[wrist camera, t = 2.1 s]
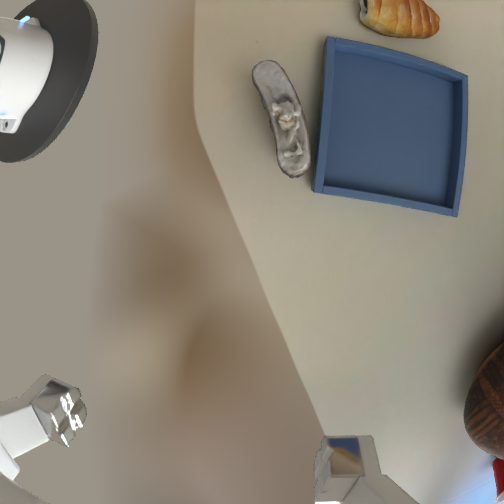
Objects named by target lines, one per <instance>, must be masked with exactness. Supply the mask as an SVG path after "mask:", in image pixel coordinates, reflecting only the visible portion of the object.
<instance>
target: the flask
mask: <svg viewBox="0 0 504 504" xmlns="http://www.w3.org/2000/svg"><path fill="white" fill-rule="evenodd" d="M252 79H253V84H254V86H255V87H256V89H257V90H258V92H259V94H260V97H261V100H262V102H263V104H264V108H265V109H266V110H267V112H268V115H269V119H270V121H269V122H270V125H271V126H270V127H271V128H272V131H273V132H274V136H275V141H276V152H277V161H278V165H279V167H280V169H281V170H282V171H283V173H285V174H286V175H288V176H289V177H290V178H294V177H297V178H298V177H300V176H302V175H303V174H304V173H305V172H307V171H308V169H309V166H310V164H311V153H310V143H309V136H308V128H307V123H306V119H305V116H304V113H303V110H302V107H301V104H300V101H299V98H298V96H297V94H296V92H295V90H294V87H293V85H292V84H291V82H290V80H289V78H288V76H287V75H286V73H285V71H284V69H283V68H282V67H281V66H280V65H279V64H278V63H277V62H275V61H270V60H266V61H261V62H259V63H258V64H257V65H256V66H254V68H253V70H252Z"/></svg>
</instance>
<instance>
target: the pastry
mask: <svg viewBox="0 0 504 504" xmlns="http://www.w3.org/2000/svg"><path fill="white" fill-rule="evenodd" d="M359 2H360V6H361V9H362V10H361V11H360V20H361V21H362V23H363V24H365V25H366V26H367V27H369V28H371V29H372V30H374V31H376V32H377V33H379V34H382V35H386V36H390V37H398V38H429V37H431V36H433V35H435V34H436V33H437V32H438V30H439V22H440V18H439V16H438V15H437V14H436V13H435V12H434V10H433V9H431V8H430V7H429V6H428V5H426V4H425V2H424V1H422V0H359Z"/></svg>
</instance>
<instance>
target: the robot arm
mask: <svg viewBox="0 0 504 504" xmlns="http://www.w3.org/2000/svg"><path fill="white" fill-rule="evenodd" d="M52 59H53V41H52V37H51V35H50V34H49V32H48V31H46V30H45V29H43V28H41V26H40V22H39V20H38V19H37V18H34V17H32V18H30V17H29V16H26V17H24V18H23V19H22V20H16V19H11V18H6V17H0V132H4V133H11V134H13V133H15V132H16V130H17V129H18V127H19V125H20V122H21V120H22V118H23V116H24V114H25V113H26V112H27V110H28V109H29V108H30V107H31V106H32V104H33V103H34V102H35V100H36V99H37V97H38V96H39V94H40V92H41V90H42V88H43V86H44V84H45V82H46V80H47V77H48V74H49V71H50V68H51V64H52ZM80 397H81V393H80V390H79V389H78V388H76V387H74V386H71V385H69V384H67V383H64V382H62V381H60V380H58V379H56V378H53V377H51V376H49V375H46V374H45V375H41V376H40V377H39V378H38V379H37V380H36V381H35V382H34V383H33V384H32V385H31V386H30V388H29V389H28V390H27V391H26V392H25V393H24V394H23V395H22V396H21V397H20V398H18V397H15V398H11V399H8V400H5V401H2V402H0V504H49V503H47V502H45V501H43V500H42V499H40V498H39V497H37V496H35V495H33V494H32V493H31V492H29V491H27V490H26V489H25V488H23V487H22V486H20V485H19V484H17V483H16V482H14V481H13V480H14V478H15V477H16V475H17V474H18V472H19V471H20V469H19V466H18V465H17V464H16V462H15V461H14V460H13V458H15V457H17V456H19V455H21V454H23V453H25V452H27V451H29V450H31V449H33V448H35V447H37V446H39V445H41V444H43V443H45V442H46V441H49V439H51V440H53V441H55V442H57V443H59V444H61V445H63V446H66V447H68V446H69V444H70V442H71V441H72V440H73V438H74V437H75V430H76V429H78V428H80V427H82V425H83V424H84V422H85V419H86V415H87V414H86V407H85V404H84V403H83V402H82V401H81V399H80ZM314 477H315V478H316V479H317V482H316V484H315V486H314V503H341V504H419V503H418V502H417V501H415V500H414V499H413V498H412V497H411V496H410V495H408V494H407V493H406V492H405V491H404V490H403V489H402V488H400V487H399V486H398V485H397V484H396V483H395V482H394V481H393V480H391V479H390V478H389V477H388V476H387V475H382V474H381V470H380V465H379V461H378V456H377V452H376V448H375V443H374V439H373V437H372V436H371V435H362V436H355V435H350V436H324V437H323V439H322V441H321V449H319V450H318V451H317V454H316V456H315V461H314Z"/></svg>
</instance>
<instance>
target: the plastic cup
mask: <svg viewBox="0 0 504 504" xmlns="http://www.w3.org/2000/svg"><path fill="white" fill-rule="evenodd" d="M493 470H494V476H495V482H496V487H497V499H496V502H502V501H504V460H503V459H499V458H497V459H496V460H495V461H494V462H493Z"/></svg>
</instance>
